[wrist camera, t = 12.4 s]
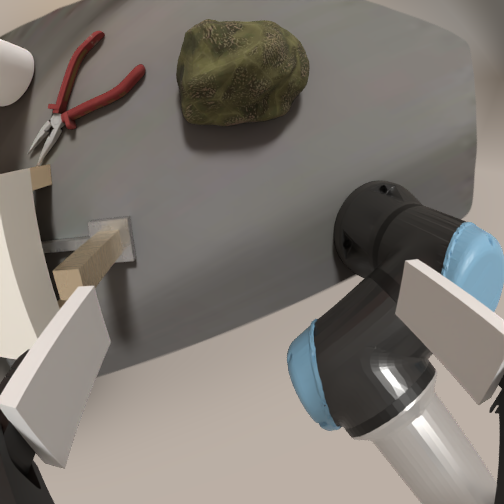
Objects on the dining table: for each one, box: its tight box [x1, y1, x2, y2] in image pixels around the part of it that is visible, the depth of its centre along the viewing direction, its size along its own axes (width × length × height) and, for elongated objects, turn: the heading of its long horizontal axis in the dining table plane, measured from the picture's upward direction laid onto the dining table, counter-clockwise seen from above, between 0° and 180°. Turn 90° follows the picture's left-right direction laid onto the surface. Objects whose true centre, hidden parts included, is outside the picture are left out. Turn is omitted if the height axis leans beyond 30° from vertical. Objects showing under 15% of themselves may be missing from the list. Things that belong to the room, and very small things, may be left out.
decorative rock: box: [176, 19, 309, 126], centre depth 29 cm, size 15×16×10 cm
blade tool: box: [41, 216, 136, 300], centre depth 30 cm, size 26×10×15 cm, turn 92°
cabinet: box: [0, 164, 67, 359], centre depth 30 cm, size 14×24×13 cm, turn 2°
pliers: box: [27, 31, 145, 166], centre depth 30 cm, size 12×20×3 cm, turn 134°
